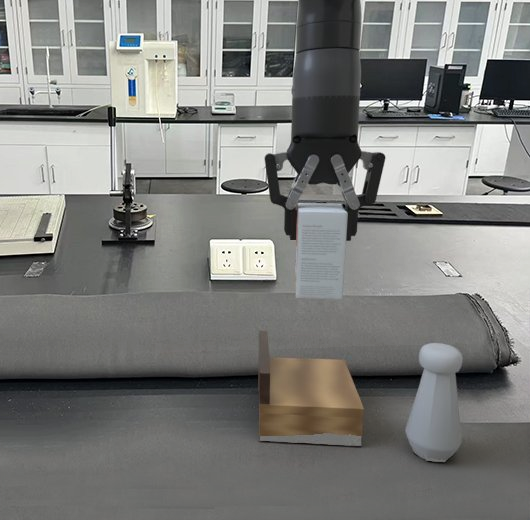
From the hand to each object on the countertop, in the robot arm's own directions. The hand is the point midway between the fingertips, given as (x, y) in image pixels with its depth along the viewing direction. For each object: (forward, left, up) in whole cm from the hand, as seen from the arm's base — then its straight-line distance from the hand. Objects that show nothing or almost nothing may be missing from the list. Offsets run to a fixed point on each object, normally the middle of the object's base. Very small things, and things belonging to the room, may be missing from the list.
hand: (319, 239), depth 65 cm
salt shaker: (-13, +7, -24) cm, 28 cm away
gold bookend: (+1, 0, -24) cm, 24 cm away
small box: (0, 0, -7) cm, 7 cm away
